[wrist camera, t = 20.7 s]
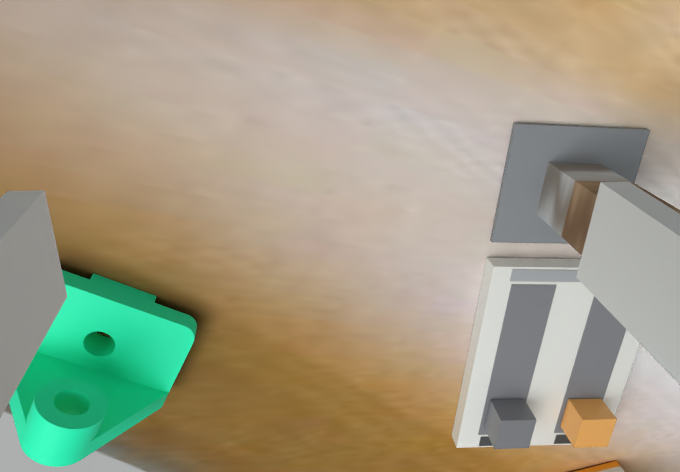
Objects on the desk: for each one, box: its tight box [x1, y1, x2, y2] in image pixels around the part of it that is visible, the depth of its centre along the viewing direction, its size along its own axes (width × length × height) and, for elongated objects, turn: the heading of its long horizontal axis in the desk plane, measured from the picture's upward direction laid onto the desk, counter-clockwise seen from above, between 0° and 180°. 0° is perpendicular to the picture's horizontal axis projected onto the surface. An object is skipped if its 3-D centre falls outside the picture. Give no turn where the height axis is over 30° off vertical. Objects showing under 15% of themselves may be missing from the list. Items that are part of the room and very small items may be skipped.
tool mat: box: [491, 123, 650, 244], centre depth 42 cm, size 9×10×1 cm
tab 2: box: [561, 399, 617, 448], centre depth 48 cm, size 3×3×2 cm
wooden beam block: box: [537, 162, 680, 255], centre depth 35 cm, size 4×4×14 cm
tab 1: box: [484, 399, 536, 449], centre depth 47 cm, size 3×3×2 cm
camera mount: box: [9, 270, 197, 467], centre depth 38 cm, size 12×8×10 cm, turn 63°
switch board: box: [452, 258, 640, 448], centre depth 48 cm, size 18×14×2 cm
